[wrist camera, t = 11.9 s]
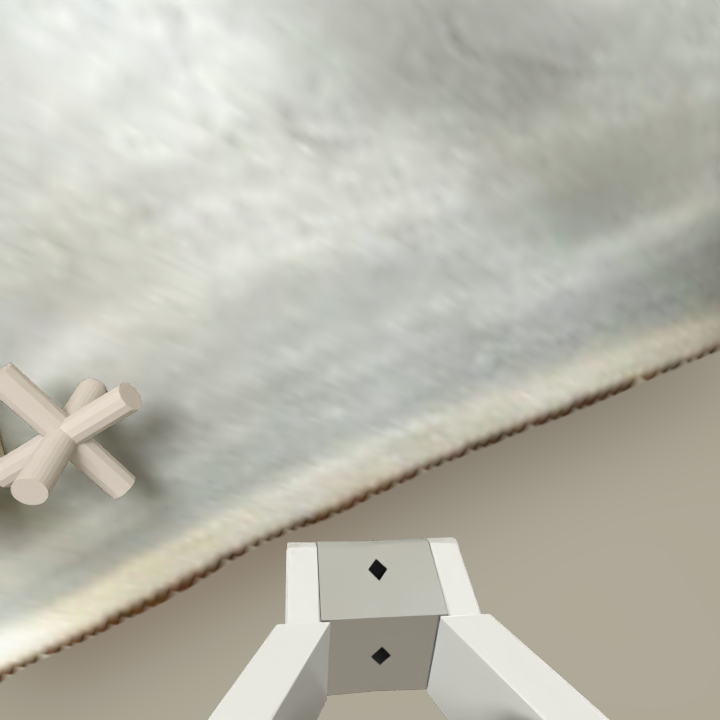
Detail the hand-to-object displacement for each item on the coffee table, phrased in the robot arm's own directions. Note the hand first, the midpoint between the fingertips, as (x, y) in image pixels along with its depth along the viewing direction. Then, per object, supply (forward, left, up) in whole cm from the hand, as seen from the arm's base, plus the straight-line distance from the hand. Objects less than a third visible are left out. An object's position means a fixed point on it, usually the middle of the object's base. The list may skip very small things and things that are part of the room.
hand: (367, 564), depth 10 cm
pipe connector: (+15, +13, -27) cm, 34 cm away
